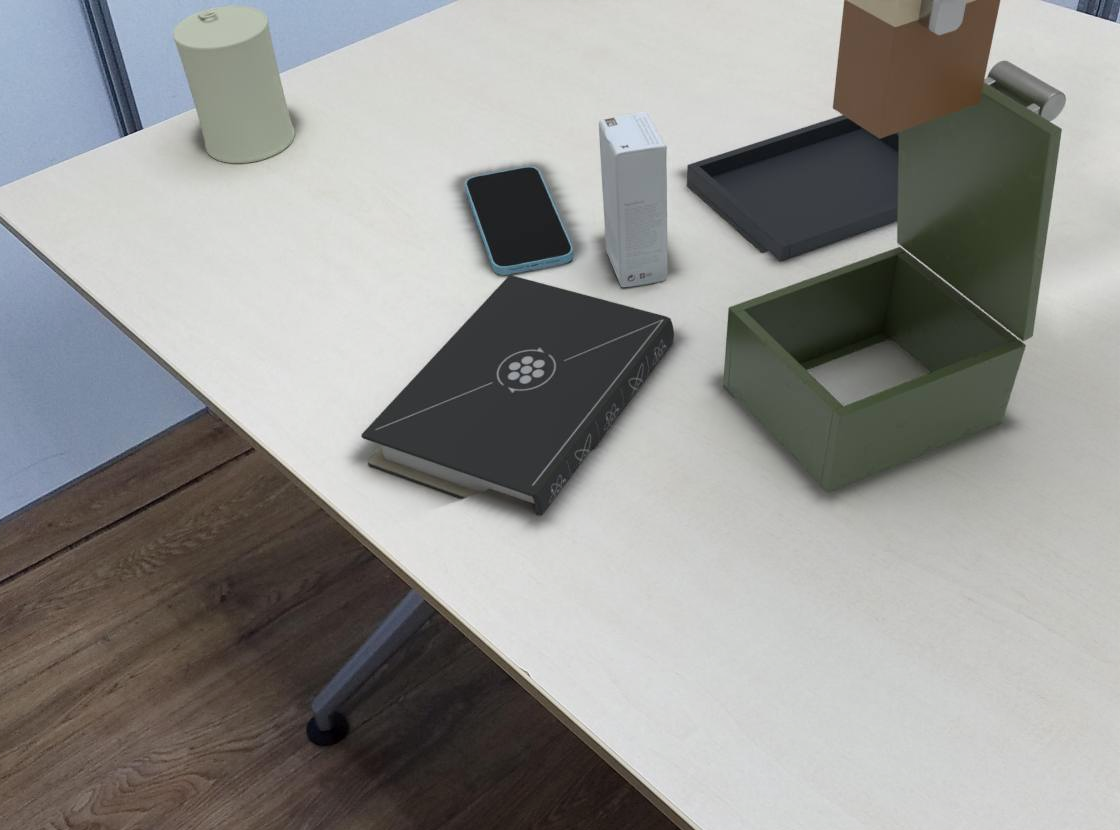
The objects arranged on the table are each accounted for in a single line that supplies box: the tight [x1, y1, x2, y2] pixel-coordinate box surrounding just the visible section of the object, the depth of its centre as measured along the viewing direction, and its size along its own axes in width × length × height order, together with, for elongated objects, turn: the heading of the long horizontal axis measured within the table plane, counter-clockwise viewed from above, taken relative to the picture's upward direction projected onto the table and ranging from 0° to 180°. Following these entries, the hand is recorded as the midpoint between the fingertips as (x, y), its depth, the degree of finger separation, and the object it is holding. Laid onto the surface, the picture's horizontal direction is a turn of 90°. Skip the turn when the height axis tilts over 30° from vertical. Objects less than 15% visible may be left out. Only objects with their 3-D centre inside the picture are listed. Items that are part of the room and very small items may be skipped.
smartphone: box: [464, 166, 574, 276], centre depth 105 cm, size 7×1×15 cm
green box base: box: [722, 246, 1027, 493], centre depth 83 cm, size 15×14×8 cm
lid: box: [896, 60, 1067, 342], centre depth 75 cm, size 16×14×5 cm
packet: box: [832, 0, 1001, 139], centre depth 65 cm, size 7×5×9 cm, turn 116°
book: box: [360, 274, 675, 516], centre depth 88 cm, size 22×15×3 cm
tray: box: [686, 114, 899, 262], centre depth 104 cm, size 20×16×2 cm
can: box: [172, 5, 296, 164], centre depth 115 cm, size 9×9×12 cm
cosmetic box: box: [598, 111, 669, 288], centre depth 95 cm, size 6×4×12 cm
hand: (903, 8), depth 64 cm, fingers closed on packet, 4 cm apart
